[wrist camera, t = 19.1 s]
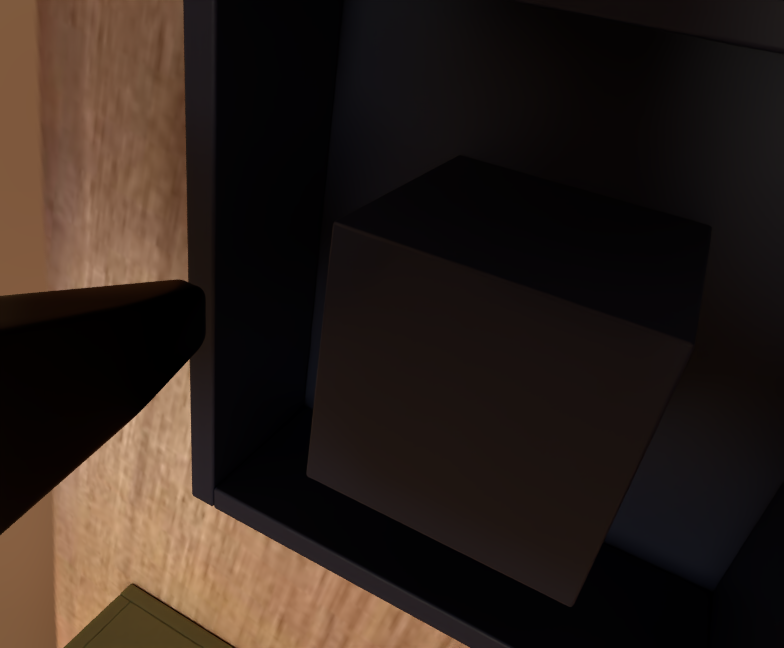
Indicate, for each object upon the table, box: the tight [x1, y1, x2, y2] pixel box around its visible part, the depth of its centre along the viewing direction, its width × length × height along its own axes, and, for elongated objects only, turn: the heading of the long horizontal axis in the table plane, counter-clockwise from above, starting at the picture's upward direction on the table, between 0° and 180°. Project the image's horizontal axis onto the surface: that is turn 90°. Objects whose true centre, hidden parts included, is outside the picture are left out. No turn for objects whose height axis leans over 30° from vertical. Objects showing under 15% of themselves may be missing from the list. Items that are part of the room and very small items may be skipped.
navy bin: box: [183, 0, 784, 648], centre depth 11 cm, size 11×11×4 cm
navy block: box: [306, 155, 712, 607], centre depth 10 cm, size 4×4×4 cm
